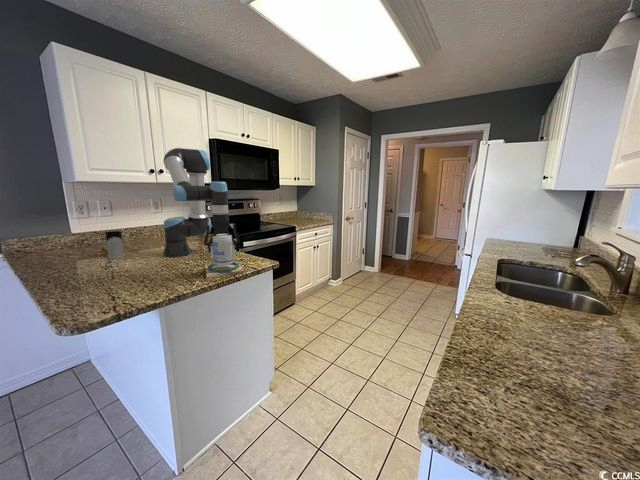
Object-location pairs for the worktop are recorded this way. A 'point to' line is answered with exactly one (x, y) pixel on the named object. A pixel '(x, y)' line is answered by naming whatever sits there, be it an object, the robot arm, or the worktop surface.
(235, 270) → the nest board
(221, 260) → the supplement tub
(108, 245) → the glass holder
